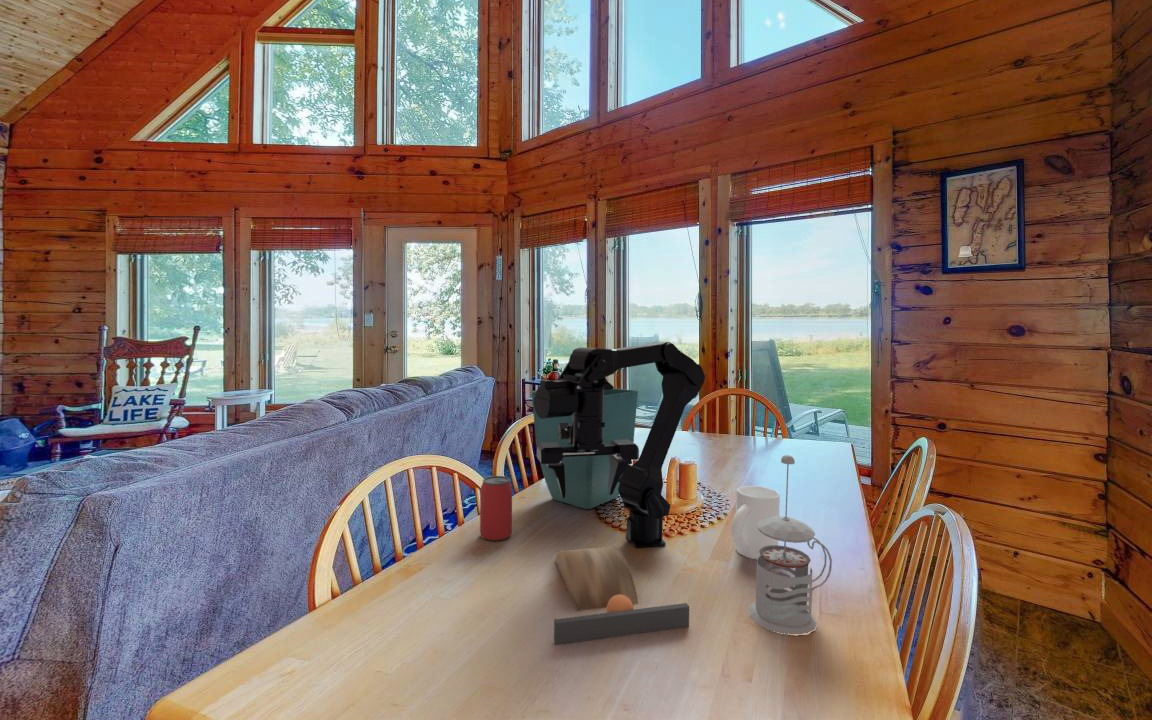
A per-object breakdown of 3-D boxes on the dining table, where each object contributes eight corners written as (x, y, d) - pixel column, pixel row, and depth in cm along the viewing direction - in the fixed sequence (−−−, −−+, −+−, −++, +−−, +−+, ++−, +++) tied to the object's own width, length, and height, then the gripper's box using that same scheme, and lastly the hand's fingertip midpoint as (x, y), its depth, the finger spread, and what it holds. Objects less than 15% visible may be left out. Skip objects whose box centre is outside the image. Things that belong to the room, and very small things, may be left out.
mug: (714, 554, 98) (715, 494, 97) (748, 539, 105) (749, 483, 105) (752, 570, 91) (754, 505, 91) (785, 552, 99) (787, 493, 98)
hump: (601, 635, 100) (602, 527, 99) (640, 718, 79) (643, 581, 77) (552, 642, 98) (553, 532, 96) (579, 729, 76) (581, 588, 75)
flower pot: (528, 499, 129) (529, 390, 127) (579, 482, 144) (580, 384, 142) (588, 519, 115) (590, 397, 114) (637, 498, 130) (639, 390, 129)
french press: (740, 599, 81) (744, 447, 80) (812, 601, 81) (818, 448, 80) (760, 635, 72) (766, 463, 70) (842, 638, 71) (850, 464, 70)
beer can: (505, 543, 102) (505, 485, 101) (475, 540, 103) (475, 483, 102) (515, 531, 108) (516, 476, 107) (487, 528, 109) (487, 474, 109)
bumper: (685, 622, 74) (686, 603, 74) (688, 626, 73) (689, 606, 73) (553, 640, 70) (554, 619, 70) (555, 644, 69) (555, 623, 69)
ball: (635, 630, 73) (639, 603, 73) (609, 629, 72) (613, 602, 72) (626, 616, 77) (630, 590, 77) (601, 615, 76) (605, 589, 76)
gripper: (621, 407, 104) (620, 480, 105) (532, 409, 100) (531, 486, 101) (640, 415, 93) (639, 498, 94) (542, 418, 89) (541, 504, 90)
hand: (587, 495), depth 95 cm, fingers open, 9 cm apart
